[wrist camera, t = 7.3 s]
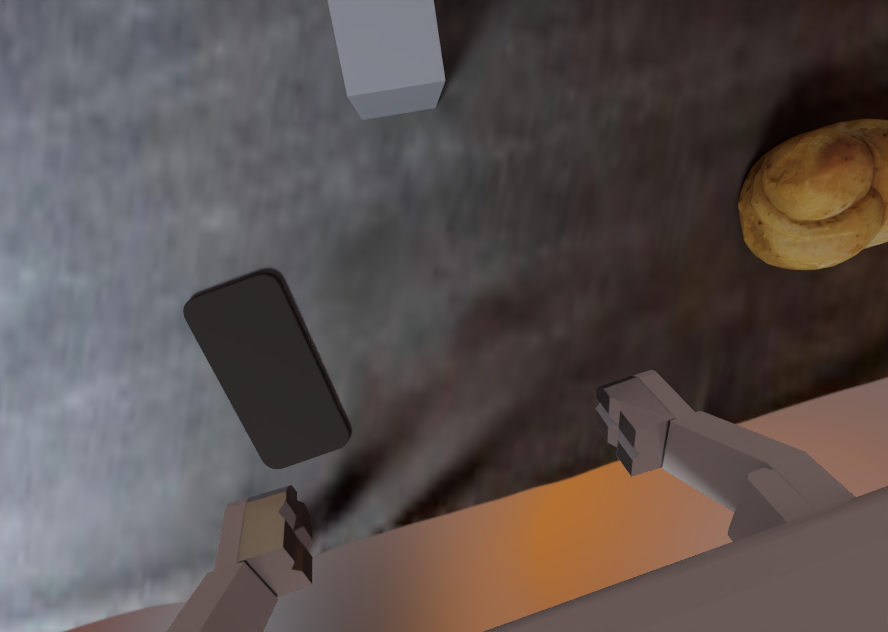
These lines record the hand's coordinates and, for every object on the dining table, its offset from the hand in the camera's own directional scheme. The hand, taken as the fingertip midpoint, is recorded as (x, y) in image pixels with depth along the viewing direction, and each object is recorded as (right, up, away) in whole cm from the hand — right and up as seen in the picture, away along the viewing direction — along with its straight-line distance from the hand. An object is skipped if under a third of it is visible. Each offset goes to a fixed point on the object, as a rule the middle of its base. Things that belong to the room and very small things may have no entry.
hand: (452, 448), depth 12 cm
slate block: (-4, +19, +18) cm, 27 cm away
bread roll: (+27, +13, +23) cm, 37 cm away
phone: (-13, -1, +24) cm, 27 cm away
